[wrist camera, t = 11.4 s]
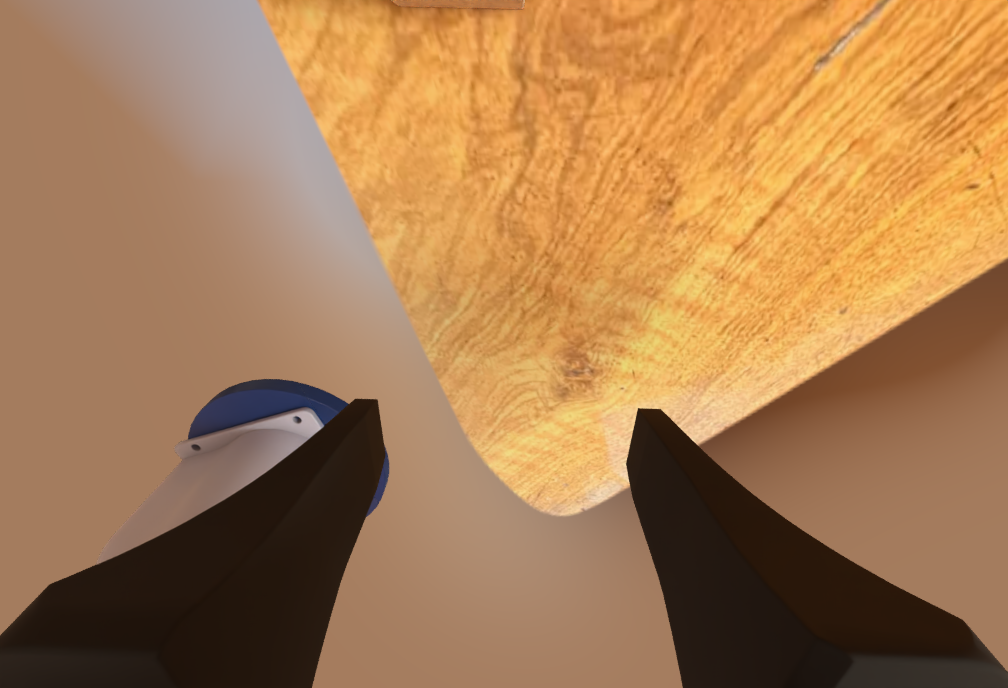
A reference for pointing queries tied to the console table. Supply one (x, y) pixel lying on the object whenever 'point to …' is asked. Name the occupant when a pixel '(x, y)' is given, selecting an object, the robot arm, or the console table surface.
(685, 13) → the console table surface
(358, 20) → the console table surface
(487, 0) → the beige rectangular block
